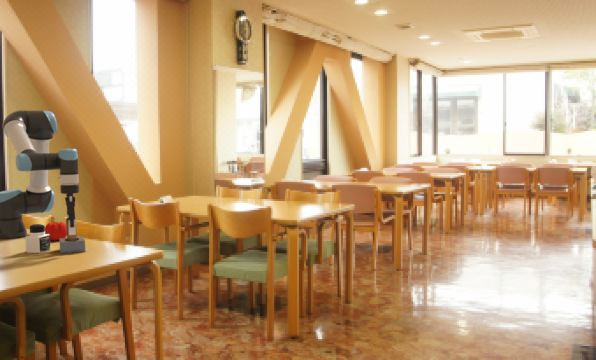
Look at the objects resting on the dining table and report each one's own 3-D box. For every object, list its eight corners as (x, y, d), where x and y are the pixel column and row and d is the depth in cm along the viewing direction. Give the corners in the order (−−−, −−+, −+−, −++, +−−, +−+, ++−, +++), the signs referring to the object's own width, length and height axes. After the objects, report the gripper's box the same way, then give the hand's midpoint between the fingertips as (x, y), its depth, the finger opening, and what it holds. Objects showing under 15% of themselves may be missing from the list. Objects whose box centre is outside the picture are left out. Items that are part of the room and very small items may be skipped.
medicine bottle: (40, 253, 237) (39, 225, 236) (25, 252, 239) (24, 225, 238) (50, 250, 244) (49, 223, 243) (36, 249, 246) (35, 222, 245)
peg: (67, 249, 243) (65, 218, 242) (77, 248, 245) (75, 217, 244) (67, 251, 240) (66, 219, 238) (77, 250, 241) (76, 218, 240)
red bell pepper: (50, 238, 272) (49, 220, 272) (72, 238, 272) (71, 220, 271) (39, 242, 262) (39, 224, 261) (62, 242, 261) (61, 224, 261)
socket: (59, 249, 245) (59, 238, 244) (83, 247, 249) (83, 236, 248) (60, 254, 236) (59, 242, 235) (85, 251, 240) (84, 240, 239)
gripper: (59, 182, 249) (61, 228, 251) (60, 187, 227) (63, 237, 229) (77, 181, 253) (79, 227, 254) (80, 186, 230) (82, 236, 232)
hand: (71, 232), depth 242 cm, fingers open, 13 cm apart
